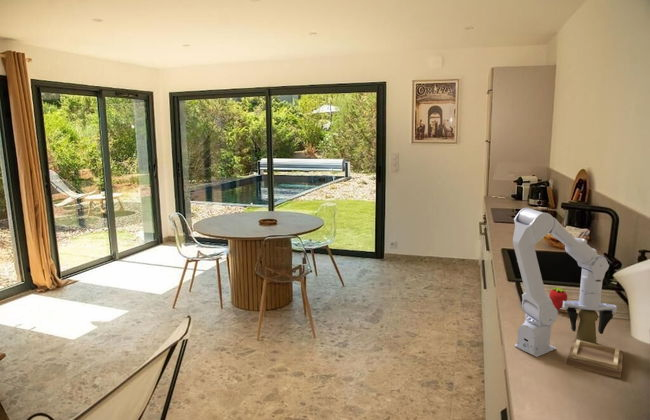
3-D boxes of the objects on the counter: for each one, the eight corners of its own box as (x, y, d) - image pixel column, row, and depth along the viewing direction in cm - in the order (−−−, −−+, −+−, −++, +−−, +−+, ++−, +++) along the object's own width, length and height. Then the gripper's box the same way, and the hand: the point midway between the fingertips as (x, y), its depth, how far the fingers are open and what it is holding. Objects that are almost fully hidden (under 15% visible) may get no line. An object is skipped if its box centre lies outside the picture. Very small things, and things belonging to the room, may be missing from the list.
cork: (576, 336, 144) (579, 304, 142) (598, 341, 140) (601, 309, 138) (572, 343, 139) (575, 310, 137) (595, 348, 136) (598, 315, 134)
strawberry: (550, 313, 162) (552, 287, 160) (546, 305, 169) (548, 280, 167) (568, 314, 160) (570, 288, 158) (563, 306, 167) (565, 281, 166)
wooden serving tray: (620, 378, 120) (621, 368, 119) (566, 364, 127) (567, 355, 127) (622, 357, 130) (623, 348, 130) (572, 346, 138) (573, 337, 137)
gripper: (612, 287, 138) (608, 327, 141) (561, 284, 142) (558, 323, 145) (620, 296, 132) (616, 338, 134) (567, 292, 136) (563, 333, 138)
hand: (586, 331), depth 139 cm, fingers open, 7 cm apart
